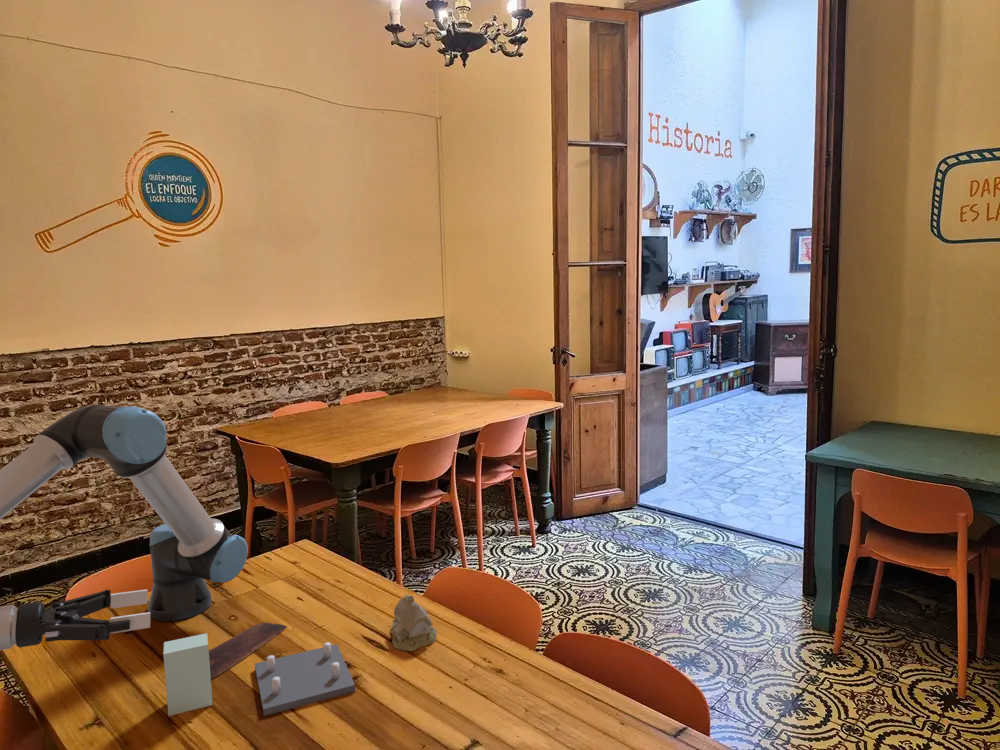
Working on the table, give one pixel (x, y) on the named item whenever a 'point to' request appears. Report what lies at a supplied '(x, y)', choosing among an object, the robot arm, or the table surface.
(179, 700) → the mint board
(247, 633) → the wooden tablet
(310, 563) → the table surface
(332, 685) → the peg plinth
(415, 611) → the ceramic model
